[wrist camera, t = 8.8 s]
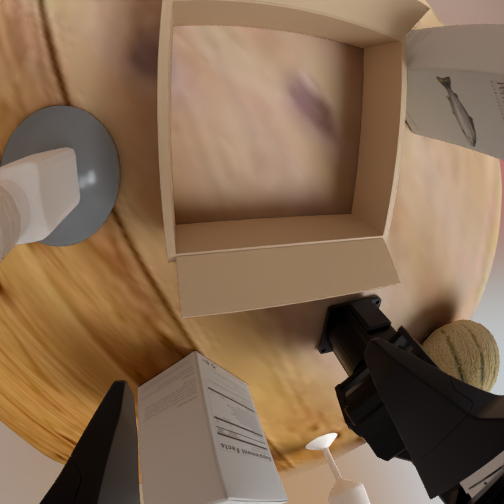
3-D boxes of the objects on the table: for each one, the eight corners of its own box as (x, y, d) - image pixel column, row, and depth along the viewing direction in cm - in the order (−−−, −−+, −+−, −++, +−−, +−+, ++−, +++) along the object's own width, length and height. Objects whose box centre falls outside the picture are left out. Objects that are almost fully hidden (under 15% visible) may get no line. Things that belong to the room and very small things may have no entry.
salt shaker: (29, 154, 14) (-60, 195, 6) (78, 144, 15) (-2, 176, 6) (37, 209, 16) (-36, 280, 7) (84, 202, 16) (22, 276, 8)
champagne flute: (336, 440, 47) (382, 528, 26) (306, 452, 46) (347, 544, 25) (337, 428, 44) (389, 527, 23) (304, 442, 43) (351, 545, 22)
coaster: (128, 235, 19) (127, 239, 18) (18, 248, 17) (15, 252, 16) (117, 93, 14) (115, 92, 14) (-2, 124, 12) (-7, 125, 12)
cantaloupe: (470, 307, 38) (523, 358, 25) (424, 370, 43) (466, 424, 30) (437, 295, 32) (509, 364, 19) (379, 374, 37) (429, 447, 24)
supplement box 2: (366, 71, 17) (509, 71, 6) (407, 29, 16) (528, 23, 5) (411, 136, 21) (534, 177, 10) (446, 91, 19) (555, 113, 8)
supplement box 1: (192, 415, 31) (213, 524, 18) (135, 386, 26) (141, 517, 13) (250, 383, 30) (292, 502, 17) (196, 347, 25) (227, 501, 12)
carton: (351, 239, 24) (404, 283, 17) (171, 254, 20) (172, 320, 14) (368, 25, 15) (434, 10, 9) (167, -2, 12) (165, -57, 6)
